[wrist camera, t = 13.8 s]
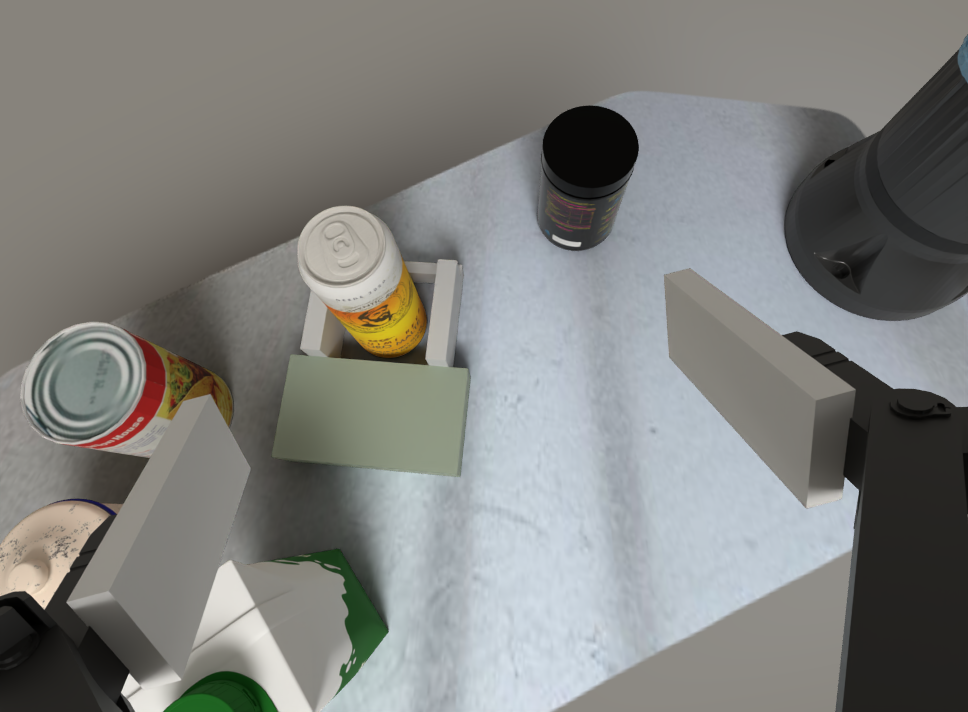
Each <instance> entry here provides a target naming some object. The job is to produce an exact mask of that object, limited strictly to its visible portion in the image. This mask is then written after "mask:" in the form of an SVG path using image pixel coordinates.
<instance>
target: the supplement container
mask: <svg viewBox="0 0 968 712" xmlns="http://www.w3.org/2000/svg"><path fill="white" fill-rule="evenodd" d="M638 151H639V145H638V139H637V135H636V133H635V131H634V129H633V127H632V126H631V124H630V123H629V122H628V121H627V120H626V119H625V118H624V117H623V116H621V115H620V114H618V113H616V112H615V111H613V110H610V109H607V108H604V107H600V106H580V107H576V108H573V109H570V110H567V111H565V112H564V113H562V114H560V115H559V116H558V117H556V118H555V119H554V120H553V121H552V123H551V124H550V125H549V127H548V128H547V130H546V132H545V135H544V138H543V146H542V154H541V176H540V188H539V200H538V212H537V219H538V224H539V227H540V229H541V231H542V233H543V234H544V236H545V237H546V238H547V239H548V240H549V241H550V242H551V243H553V244H554V245H556V246H558V247H560V248H562V249H565V250H571V251H582V250H587V249H590V248H592V247H595V246H597V245H598V244H600V243H601V242H602V241H604V240H605V239H606V237H607V236H608V235H609V233H610V232H611V230H612V227H613V225H614V222H615V219H616V216H617V213H618V210H619V207H620V204H621V202H622V199H623V196H624V193H625V190H626V187H627V184H628V181H629V179H630V177H631V175H632V173H633V169H634V165H635V163H636V160H637V156H638Z"/></svg>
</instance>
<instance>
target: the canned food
mask: <svg viewBox="0 0 968 712" xmlns="http://www.w3.org/2000/svg"><path fill="white" fill-rule="evenodd" d="M209 394H211V396H212V398H213V400H214V402H215V404H216V405H217V407H218V409H219V411H220V413H221V415H222V416H223V418H224V420H225V422H226V424H227V426H228V427H230V425H231V422H232V417H233V412H234V411H233V398H232V395H231V392H230V389H229V388H228V386H227V385H226V383H225V382H224V381H223V379H221V378H220V377H219V376H218V375H216V374H215V373H213V372H211V371H209V370H207V369H205V368H203V367H201V366H199V365H197V364H195V363H193V362H191V361H189V360H187V359H184V358H182V357H180V356H178V355H176V354H174V353H172V352H170V351H168V350H166V349H164V348H162V347H160V346H158V345H155V344H153V343H151V342H149V341H147V340H145V339H143V338H141V337H139V336H137V335H135V334H133V333H131V332H129V331H126V330H124V329H122V328H120V327H117V326H115V325H112V324H110V323H104V322H87V323H81V324H76V325H73V326H71V327H69V328H66V329H64V330H61V331H60V332H58V333H57V334H56V335H54V336H53V337H51V338H50V339H48V340H47V341H46V342H45V343H44V344H43V345H42V346H41V347H40V348H39V350H38V351H37V352H36V353H35V354H34V356H33V358H32V359H31V361H30V363H29V364H28V366H27V368H26V371H25V374H24V377H23V380H22V383H21V397H20V400H21V405H22V409H23V414H24V416H25V418H26V419H27V421H28V423H29V424H30V426H31V428H33V429H34V430H35V431H36V432H37V433H38V434H39V435H40V436H42V437H43V438H46V439H48V440H50V441H53V442H55V443H59V444H65V445H71V446H78V447H84V448H90V449H96V450H102V451H108V452H115V453H121V454H127V455H133V456H139V457H146V458H150V457H151V456H152V454H153V452H154V451H155V449H156V447H157V445H158V444H159V442H160V440H161V439H162V437H163V435H164V433H165V432H166V430H167V428H168V426H169V425H170V423H171V421H172V420H173V418H174V416H175V414H176V413H177V411H178V409H179V408H180V406H181V404H182V402H183V401H186V400H189V399H193V398H197V397H201V396H205V395H209Z"/></svg>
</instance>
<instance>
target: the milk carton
mask: <svg viewBox="0 0 968 712" xmlns="http://www.w3.org/2000/svg"><path fill="white" fill-rule="evenodd" d="M388 632H389V631H388V629H387V628H386V626H385V624H384V623H383V621H382V619H381V618H380V616H379V614H378V613H377V611H376V609H375V608H374V606H373V604H372V603H371V601H370V599H369V598H368V596H367V594H366V593H365V591H364V589H363V587H362V586H361V584H360V582H359V581H358V579H357V577H356V576H355V574H354V572H353V571H352V569H351V567H350V566H349V564H348V562H347V561H346V559H345V557H344V556H343V554H342V552H341V551H340V549H334V550H328V551H322V552H316V553H310V554H305V555H299V556H293V557H288V558H282V559H276V560H271V561H265V562H259V563H254V564H248V565H245V564H242V563H239V562H236V561H233V560H229V561H227V562H226V563H225V564H223V565H222V566H220V567H219V568H218V571H217V574H216V577H215V580H214V583H213V586H212V589H211V592H210V595H209V598H208V601H207V604H206V607H205V610H204V613H203V617H202V620H201V623H200V626H199V629H198V632H197V635H196V638H195V641H194V644H193V647H192V650H191V653H190V656H189V659H188V662H187V665H186V668H185V671H184V675H183V678H182V680H180V681H176V682H173V683H169V684H165V685H162V686H158V687H154V688H151V689H147V690H144V689H143V688H142V687H141V686H140V685H139V684H138V683H137V682H136V680H135V679H134V678H133V677H132V676H131V675H130V674H128V677H127V679H126V682H125V684H124V686H123V689H122V691H121V693H122V694H123V695H124V696H125V697H126V699H127V700H128V701H129V702H130V703H131V705H132V707H133V709H134V710H135V712H320V711H321V710H322V709H323V708H324V707H325V706H326V705H327V704H328V703H329V702H330V701H331V700H332V699H333V698H334V697H335V696H336V695H337V694H338V693H339V692H340V691H341V690H342V688H343V687H344V686H345V685H346V684H347V683H348V682H349V681H350V680H351V679H352V678H353V677H354V676H355V675H356V673H357V672H358V671H359V670H360V668H361V667H362V666H363V665H364V663H365V662H366V661H367V659H368V658H369V657H370V655H371V654H372V653H373V652H374V650H375V649H376V648H377V646H378V645H379V644H380V642H381V641H382V640H383V638H384V637H385V636H386V634H387V633H388Z"/></svg>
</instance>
